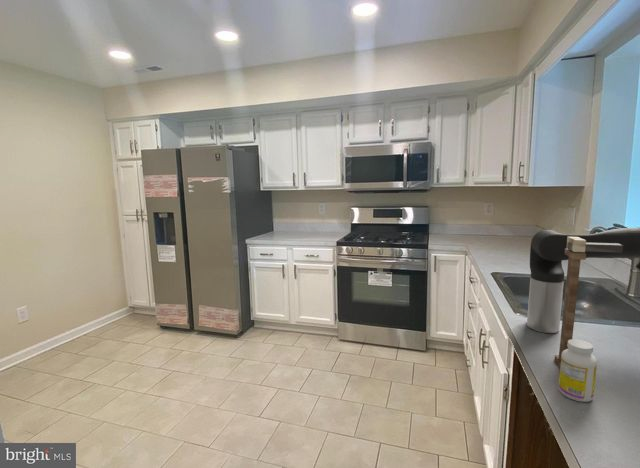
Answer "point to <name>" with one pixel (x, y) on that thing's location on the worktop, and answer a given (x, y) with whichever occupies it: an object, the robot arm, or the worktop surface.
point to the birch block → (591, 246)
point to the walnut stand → (569, 299)
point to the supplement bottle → (578, 371)
